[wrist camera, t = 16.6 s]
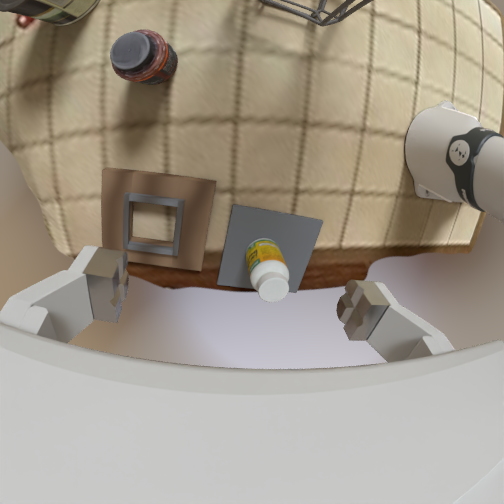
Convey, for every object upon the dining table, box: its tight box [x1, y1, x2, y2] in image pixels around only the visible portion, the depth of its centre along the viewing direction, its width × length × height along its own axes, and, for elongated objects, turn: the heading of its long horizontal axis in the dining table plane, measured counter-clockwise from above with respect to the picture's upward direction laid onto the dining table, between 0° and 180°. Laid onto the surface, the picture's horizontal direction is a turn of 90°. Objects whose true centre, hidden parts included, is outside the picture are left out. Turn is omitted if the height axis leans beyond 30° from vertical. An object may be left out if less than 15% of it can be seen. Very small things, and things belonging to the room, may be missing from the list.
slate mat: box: [217, 204, 323, 293], centre depth 43 cm, size 14×14×1 cm
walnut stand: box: [101, 168, 216, 271], centre depth 37 cm, size 16×14×2 cm
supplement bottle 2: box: [246, 238, 289, 302], centre depth 39 cm, size 5×5×10 cm
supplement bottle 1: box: [110, 30, 178, 84], centre depth 22 cm, size 6×6×11 cm
